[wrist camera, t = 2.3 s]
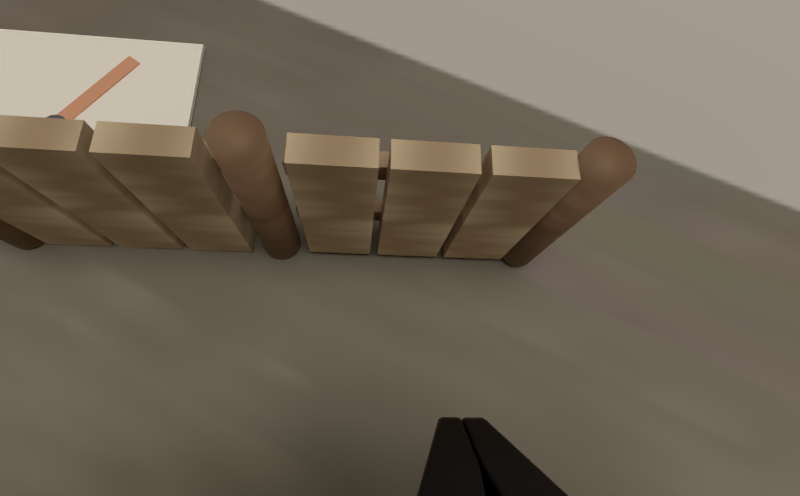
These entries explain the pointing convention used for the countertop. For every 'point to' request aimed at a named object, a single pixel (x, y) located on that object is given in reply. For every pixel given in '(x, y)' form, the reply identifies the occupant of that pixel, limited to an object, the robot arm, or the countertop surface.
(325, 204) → the fence panel
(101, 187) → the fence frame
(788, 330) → the countertop surface
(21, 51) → the card
